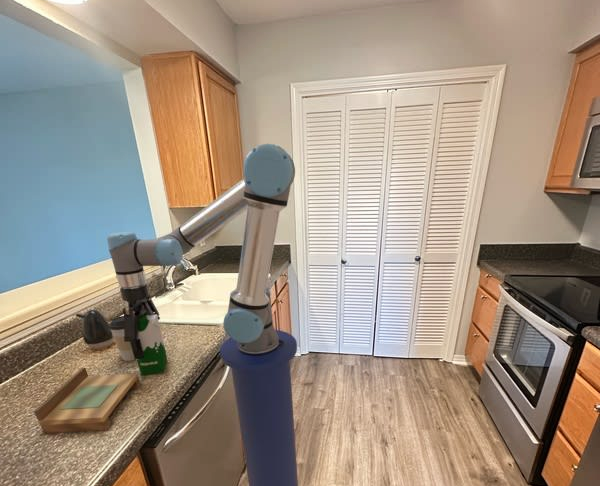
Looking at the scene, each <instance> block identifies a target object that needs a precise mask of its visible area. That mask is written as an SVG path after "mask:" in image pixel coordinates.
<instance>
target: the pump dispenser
mask: <svg viewBox="0 0 600 486" xmlns="http://www.w3.org/2000/svg"><path fill="white" fill-rule="evenodd" d="M75 317H77V318H81V319H82V324H81V325H82V326H81V331H82V338H83V342H84V343H85V344H86V345H87V346H88V347H89V348H90V349H93V350H104V349H106V348H108V347H110V346H111V345H112V344H113V343H114V342H115V340H114V338H113V335H112V332H111V329H110V328H109V324H110V323H111V322H110V321H108V319H107V318H106V316H105V315H104V314H102V312H100V311H99V310H97V309H89V310H87V311H86V312H85V313H84V314H82V313H76V314H75Z"/></svg>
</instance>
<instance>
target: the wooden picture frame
mask: <svg viewBox="0 0 600 486" xmlns="http://www.w3.org/2000/svg"><path fill="white" fill-rule="evenodd" d="M140 386H141V381H140V377H139V374H138V373H120V374H101V375H99V374H98V375H89V373H88V371H87V368H86V367H81V368H80V369H78V371H77V372H76V373H74V374H73V375H72V376H71V377H69V379H68V380H66V382H64V383H63V384H62V385H61V386H60V387H59V388H58V389H56V390H55V392H53V393H52V394H51V395H50V396H48V397H47V399H45V400H44V401H43V402H42V403H41V404H40V405H39V406H38V407H36V409H34V410H33V413H34V415H35V417H36V419H37V421H38V424H39V426H40V428H41V430H42V432H43V434H52V433H53V434H54V433H55V434H56V433H71V432H72V433H75V432H90V431H91V432H93V431H107V430H108V429H109V428H110V426H111V421H110V418H109V416H110V415H111V414H112V412H113V411H114V410H115V409H116V408H117V406H118V404H119V403H120V402H121V401H122V400H123V398H124V397H125V396H126V395H127V393H128V392H129V390H130V389H138V388H139V387H140Z"/></svg>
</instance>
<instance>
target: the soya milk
mask: <svg viewBox="0 0 600 486" xmlns="http://www.w3.org/2000/svg"><path fill="white" fill-rule="evenodd" d="M158 317H159V316H157V314H155V315H146V314H143V315H142V318H139V323H140V324H139V333H138V339H140V341H141V345H142V349H143V353H144V357H145V358H144V359H135V360H136V364H137V366H138V370H139V372H140V375H141V376H142V377H143V376H149V375H150V376H151V375H156V374H157V375H158V374H164V373H165V371H166V368H167V364H168V356H167V350H166V346H165V342H164V337H163V333H162V330H161V324H160V320H158Z"/></svg>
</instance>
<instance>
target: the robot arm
mask: <svg viewBox="0 0 600 486" xmlns="http://www.w3.org/2000/svg"><path fill="white" fill-rule="evenodd" d="M242 170H243V171H242V172H243V178H242V179H241V180H240V181H238V182H236V183H235V184H234V185H233V186H232V187H230V188H229V189H227V190H226V191H225V192H223V193H222V194H221V195H219V196H218V197H217V198H215V199H214V200H213V201H211V202H210V203H208V205H206V206H204V207H203V208H201V210H199V211H198V212H197V213H195V214H194V215H192V217H190V218H189V219H188V220H185V221H184V223H182V224H180V226H178V227H176V228H175V229H174V230H173V231H171V232H170V233H168V234H165V235H162V236H160V237H156V238H152V239H151V238H150V239H149V238H147V239H139V238H138V237H137V234H136V232H134V231H119V232H113V233H109V234H108V235H107V236H106V241H107V245H108V246H107V247H108V252H109V255H110V257H111V260H112V264H113V268H114V271H115V278H116V280H117V283H118V286H119V287H120V288H119V291H120V296H121V299H122V300H123V301H124V302H127V304H128V305H127V306H128V307H123V308H122V313H123V316H124V341H125V342H130V343H131V347H132V351H133V354H134V358H135V359H134V360H136V359H144V358H145V357H144V353H143V349H142V345H141V341H140V339H138V333H139V324H140V323H139V318H142V315H143V314H146V315H155V314H157V317H158V321H160V320H161V317H160V312H159V310H158V308H157V307H156V305H155V302H154V301H153V299H152V296H151V294H150V291H149V287H148V284H147V278H146V274H145V270H144V267H170V266H171V267H172V266H179V265H180V264H181V263H182V260H183V256H184V255H186V254H188V253H190V251H191V250H192V249H194V248H195V247H196V246H198V245H199V244H201V243H202V242H204V241H205V240H206V239H208V238H209V237H210V236H212V235H213V234H215V233H216V232H217V231H219V230H220V229H221V228H223V227H224V226H226V225H227V224H229V223H230V222H231V221H233V220H234V219H236V218H237V217H238V216H240V215H241V214H243V213H244V212H245V211H246V217H245V225H244V232H243V237H242V238H243V240H242V246H241V252H240V253H241V254H240V260H239V268H238V274H237V282H236V287H235V289H234V290H232V291H231V292H230V295H229V301H228V307H227V312H226V314H225V315H224V318H223V322H222V323H223V324H222V326H223V329H224V332H225V333H226V335H228V337H229V338H232V339H233V340H235V341H237V346H238V350H239V351H240V352H241V353H243V354H246V355H264V354H268V353H270V352H272V351H274V350H276V349H277V348H278V347H279V342H280V343H282V344H283V343H284V341H282V340H280V339H279V337H278V335H277V333H276V330H277V329H275V326H274V323H273V321H274V320H273V311H272V310H273V309H272V298H271V295H272V293H271V289H270V286H269V285H268V280H269V275H270V269H271V264H272V258H273V253H274V249H275V248H274V247H275V241H276V237H277V231H278V227H279V220H280V214H281V212H282V211H283V210H284V209H286V208H287V206H288V201H289V197H290V192H291V186H292V184H293V182H294V180H295V177H296V167H295V163H294V160H293V159H292V157H291V156H290V154H289V153H288V152H287V151H286V150H285V149H284V148H282V147H281V146H279V145H276V144H275V143H274V144H273V143H263V144H259V145H256V147H254V148H252V149H251V150H250V152H248V154H247V155H246V157H245V159H244V162H243V169H242Z"/></svg>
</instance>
